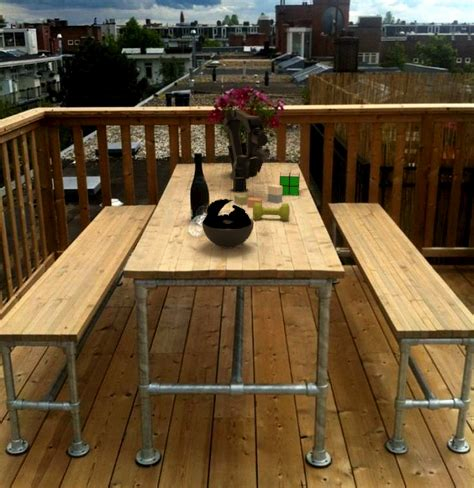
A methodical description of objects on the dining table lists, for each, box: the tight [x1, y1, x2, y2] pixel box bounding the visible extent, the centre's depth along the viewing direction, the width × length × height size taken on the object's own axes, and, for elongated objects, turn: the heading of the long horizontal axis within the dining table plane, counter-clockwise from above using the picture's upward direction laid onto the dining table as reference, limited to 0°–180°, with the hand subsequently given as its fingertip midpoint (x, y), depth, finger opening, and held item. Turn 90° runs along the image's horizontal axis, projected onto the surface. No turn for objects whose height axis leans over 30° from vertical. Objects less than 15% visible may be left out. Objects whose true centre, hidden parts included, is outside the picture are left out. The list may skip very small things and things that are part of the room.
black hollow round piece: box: [201, 198, 255, 249], centre depth 245 cm, size 20×20×19 cm
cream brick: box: [267, 183, 283, 196], centre depth 308 cm, size 6×4×4 cm, turn 49°
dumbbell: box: [252, 203, 291, 222], centre depth 281 cm, size 16×8×7 cm, turn 84°
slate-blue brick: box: [267, 193, 283, 204], centre depth 310 cm, size 6×4×4 cm, turn 55°
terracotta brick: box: [247, 197, 263, 209], centre depth 300 cm, size 6×4×4 cm, turn 70°
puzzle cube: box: [279, 171, 301, 196], centre depth 324 cm, size 10×10×10 cm
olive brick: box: [233, 193, 248, 206], centre depth 306 cm, size 6×4×4 cm, turn 25°
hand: (252, 174), depth 313 cm, fingers open, 9 cm apart
